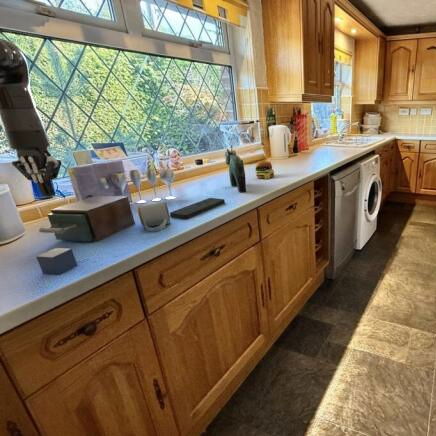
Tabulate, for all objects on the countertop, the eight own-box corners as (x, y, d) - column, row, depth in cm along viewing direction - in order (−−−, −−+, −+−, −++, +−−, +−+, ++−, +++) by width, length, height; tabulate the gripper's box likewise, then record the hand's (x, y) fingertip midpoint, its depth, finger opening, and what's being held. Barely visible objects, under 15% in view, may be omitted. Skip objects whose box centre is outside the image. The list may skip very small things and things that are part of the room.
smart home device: (225, 198, 120) (185, 214, 103) (226, 203, 121) (186, 219, 104) (209, 197, 124) (168, 212, 106) (210, 201, 124) (169, 217, 107)
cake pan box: (127, 199, 131) (117, 158, 125) (135, 200, 129) (125, 159, 123) (79, 213, 114) (64, 167, 108) (87, 215, 112) (73, 167, 106)
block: (43, 273, 71) (35, 256, 69) (62, 264, 75) (55, 247, 74) (59, 275, 70) (52, 257, 68) (77, 265, 74) (71, 248, 73)
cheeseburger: (258, 180, 158) (255, 161, 157) (254, 181, 168) (251, 163, 167) (277, 177, 162) (273, 158, 161) (272, 178, 172) (269, 161, 171)
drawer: (73, 248, 82) (63, 221, 79) (38, 246, 84) (28, 220, 81) (126, 224, 99) (120, 201, 96) (96, 223, 101) (89, 200, 98)
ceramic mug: (143, 223, 101) (138, 201, 98) (170, 219, 105) (165, 197, 102) (141, 234, 92) (135, 211, 90) (171, 229, 96) (165, 206, 93)
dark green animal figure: (228, 184, 151) (222, 144, 144) (241, 183, 154) (235, 143, 147) (236, 193, 134) (230, 147, 128) (251, 191, 137) (245, 146, 130)
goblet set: (100, 209, 117) (91, 176, 113) (102, 205, 122) (93, 173, 118) (179, 198, 130) (173, 167, 126) (178, 195, 135) (172, 165, 130)
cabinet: (97, 241, 88) (87, 210, 85) (61, 240, 90) (50, 209, 87) (135, 223, 102) (127, 196, 98) (103, 222, 104) (94, 195, 100)
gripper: (-16, 130, 72) (12, 199, 78) (29, 128, 70) (55, 200, 76) (19, 128, 79) (42, 191, 85) (61, 126, 77) (82, 192, 83)
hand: (48, 195), depth 81 cm, fingers closed
